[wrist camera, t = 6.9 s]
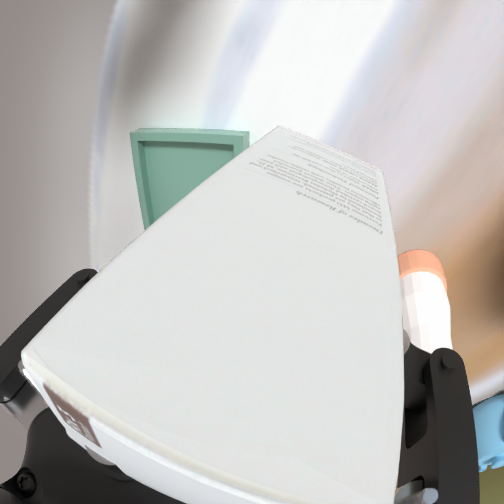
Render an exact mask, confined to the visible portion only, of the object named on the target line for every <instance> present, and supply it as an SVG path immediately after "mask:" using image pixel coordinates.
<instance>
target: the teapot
mask: <svg viewBox="0 0 504 504" xmlns="http://www.w3.org/2000/svg"><path fill="white" fill-rule="evenodd" d="M473 415H474V422H475V430H476V439H477V450H478V463H479V472H482V471H484V470H486V467H487V465H491V468H498V467H501V466H503V465H504V394H500V395H497V396H494V397H491V398H489V399H487V400H485V401H483V402H481V403H479V404H477V405H476V406H475V407H473Z"/></svg>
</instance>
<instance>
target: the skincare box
mask: <svg viewBox="0 0 504 504" xmlns="http://www.w3.org/2000/svg"><path fill="white" fill-rule="evenodd" d="M21 358H22V363H23V365H24V367H25V369H26V371H27V372H28V374H29V376H30V377H31V379H32V381H33V382H34V384H35V386H36V387H37V389H38V390H39V392H40V394H41V395H42V397H43V398H44V400H45V401H46V403H47V404H48V406H49V407H50V408H51V410H52V411H53V413H54V414H55V416H56V417H57V418H58V420H59V421H60V422H61V424H62V425H63V426H64V427H65V428H66V433H67V435H68V436H69V437H70V438H72V439H73V440H74V441H75V442H77V443H78V444H79V445H81V446H82V447H83V448H85V449H86V447H85V445H86V446H87V447H89V448H90V449H92V450H93V451H95V452H96V453H97V454H99V455H101V456H102V457H104V458H105V459H107V460H109V461H110V462H112V463H114V464H116V465H117V466H118V467H119V468H120V469H121V470H122V471H123V472H124V473H125V474H126V475H128V476H130V477H132V478H133V479H135V480H136V481H138V482H140V483H142V484H144V485H146V486H148V487H150V488H152V489H154V490H156V491H158V492H161V493H163V494H165V495H167V496H170V497H172V498H174V499H177V500H179V501H182V502H184V503H187V504H393V503H394V496H395V489H396V482H397V475H398V468H399V459H400V448H401V434H402V422H403V408H404V352H403V324H402V298H401V285H400V275H399V266H398V258H397V249H396V242H395V235H394V228H393V222H392V215H391V209H390V204H389V198H388V193H387V188H386V183H385V179H384V174H383V171H382V170H381V169H379V168H377V167H374V166H372V165H370V164H368V163H366V162H364V161H362V160H360V159H357V158H355V157H353V156H351V155H349V154H346V153H344V152H342V151H340V150H338V149H335V148H333V147H331V146H329V145H326V144H324V143H322V142H319V141H317V140H314V139H312V138H310V137H307V136H305V135H302V134H300V133H297V132H295V131H292V130H290V129H287V128H285V127H282V126H277V127H276V128H275V129H274V130H272V131H271V132H269V133H268V134H266V135H265V136H264V137H262V138H261V139H260V140H258V141H257V142H255V143H254V144H253V145H251V146H250V147H248V148H247V149H246V150H244V151H243V152H242V153H240V154H239V155H238V156H236V157H235V158H234V159H232V160H231V161H230V162H228V163H227V164H226V165H224V166H223V167H222V168H220V169H219V170H218V171H216V172H215V173H214V174H213V175H211V176H210V177H209V178H207V179H206V180H205V181H204V182H202V183H201V184H200V185H199V186H197V187H196V188H195V189H194V190H192V191H191V192H190V193H189V194H188V195H186V196H185V197H184V198H183V199H181V200H180V201H179V202H178V203H176V204H175V205H174V206H173V207H172V208H170V209H169V210H168V211H167V212H166V213H164V214H163V215H162V216H161V217H160V218H159V219H157V220H156V221H155V222H154V223H153V224H152V225H151V226H149V227H148V228H147V229H146V230H145V231H144V232H143V233H141V234H140V235H139V236H138V237H137V238H136V239H134V240H133V241H132V242H131V243H130V244H129V245H128V246H126V247H125V248H124V249H123V250H122V251H121V252H120V253H119V254H117V255H116V256H115V257H114V258H113V259H112V260H111V261H110V262H109V263H108V264H106V265H105V266H104V267H103V268H102V269H101V270H100V271H99V272H98V273H97V274H96V275H95V276H94V277H93V278H92V279H91V280H90V281H89V282H88V283H87V284H86V285H85V286H84V287H83V288H81V289H80V290H79V291H78V292H77V293H76V294H75V295H74V296H73V297H72V299H71V300H70V301H69V302H68V303H67V304H66V305H65V306H64V307H63V308H62V309H61V310H60V311H59V312H58V313H57V314H56V315H55V316H54V317H53V318H52V319H51V320H50V321H49V322H48V323H47V324H46V325H45V326H44V327H43V328H42V330H41V331H40V332H39V333H38V334H37V335H36V336H35V337H34V338H33V339H32V340H31V341H30V342H29V344H28V345H27V346H26V347H25V348H24V349H23V350H22V351H21Z"/></svg>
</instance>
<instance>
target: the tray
mask: <svg viewBox="0 0 504 504" xmlns="http://www.w3.org/2000/svg"><path fill="white" fill-rule="evenodd" d="M130 138H131V146H132V154H133V162H134V169H135V176H136V182H137V189H138V195H139V201H140V207H141V212H142V218H143V223H144V229H145V230H146V229H147V228H148V227H149V226H151V225H152V224H153V223H154V222H155V221H156V220H157V219H159V218H160V217H161V216H162V215H163V214H164V213H166V212H167V211H168V210H169V209H170V208H172V207H173V206H174V205H175V204H176V203H178V202H179V201H180V200H181V199H183V198H184V197H185V196H186V195H188V194H189V193H190V192H191V191H192V190H194V189H195V188H196V187H197V186H199V185H200V184H201V183H202V182H204V181H205V180H206V179H207V178H209V177H210V176H211V175H213V174H214V173H215V172H216V171H218V170H219V169H220V168H222V167H223V166H224V165H226V164H227V163H228V162H230V161H231V160H232V159H234V158H235V157H236V156H238V155H239V154H240V153H242V152H243V151H244V150H246V149H247V148H248V147H249V132H247V131H233V130H214V129H182V128H146V129H138V130H135V131H133V132H131V133H130Z"/></svg>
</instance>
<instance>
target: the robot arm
mask: <svg viewBox="0 0 504 504" xmlns="http://www.w3.org/2000/svg"><path fill="white" fill-rule="evenodd" d="M97 273H98V272H97V271H96V270H94V269H83V270H80V271H78V272H76V273H75V274H74V275H73V276H71V277H70V278H69V279H68V280H67V281H66V282H65V283H64V284H63V285H62V286H60V287H59V288H58V289H57V290H56V291H55V292H54V293H53V294H52V295H51V296H50V297H49V298H48V299H47V300H46V301H44V302H43V303H42V304H41V305H40V306H39V307H38V308H37V309H36V310H35V311H34V312H33V313H32V314H31V315H30V316H29V317H28V318H27V319H26V320H25V321H24V322H23V323H22V324H21V325H20V326H19V327H18V328H17V329H16V330H15V331H14V332H13V333H12V334H11V336H10V337H9V338H8V339H7V340H6V341H5V342H4V343H3V344H2V345H1V346H0V405H1V406H2V407H3V408H4V409H5V410H6V411H7V412H8V413H9V414H11V415H12V416H14V417H15V418H16V419H17V420H18V421H19V422H20V423H21V424H23V426H24V427H25V428H26V429H27V430H28V435H27V445H26V451H25V456H24V460H23V463H22V466H21V468H20V470H19V471H18V473H17V474H16V475H15V476H13V477H12V478H11V479H9V480H8V481H6V482H4V483H2V484H0V504H187V503H184V502H182V501H179V500H177V499H174V498H172V497H170V496H167V495H165V494H163V493H161V492H158V491H156V490H154V489H152V488H150V487H148V486H146V485H144V484H142V483H140V482H138V481H136V480H135V479H133V478H132V477H130V476H128V475H126V474H125V473H124V472H123V471H122V470H121V469H120V468H119V467H118V466H117V465H116V464H114V463H112V462H110V461H109V460H107V459H105V458H104V457H102V456H101V455H99V454H97V453H96V452H95V451H93V450H92V449H90V448H89V447H87V446H86V445H85V447H86V449H85V448H83V447H82V446H81V445H79V444H78V443H77V442H75V441H74V440H73V439H72V438H70V437H69V436H68V435H67V433H66V428H65V427H64V426H63V425H62V424H61V422H60V421H59V420H58V418H57V417H56V416H55V414H54V413H53V411H52V410H51V408H50V407H49V406H48V404H47V403H46V401H45V400H44V398H43V397H42V395H41V394H40V392H39V390H38V389H37V387H36V386H35V384H34V382H33V381H32V379H31V377H30V376H29V374H28V372H27V371H26V369H25V367H24V365H23V363H22V358H21V351H22V350H23V349H24V348H25V347H26V346H27V345H28V344H29V342H30V341H31V340H32V339H33V338H34V337H35V336H36V335H37V334H38V333H39V332H40V331H41V330H42V328H43V327H44V326H45V325H46V324H47V323H48V322H49V321H50V320H51V319H52V318H53V317H54V316H55V315H56V314H57V313H58V312H59V311H60V310H61V309H62V308H63V307H64V306H65V305H66V304H67V303H68V302H69V301H70V300H71V299H72V297H73V296H74V295H75V294H76V293H77V292H78V291H79V290H80V289H81V288H83V287H84V286H85V285H86V284H87V283H88V282H89V281H90V280H91V279H92V278H93V277H94V276H95V275H96V274H97ZM402 324H403V316H402ZM403 352H404V408H403V422H402V434H401V448H400V459H399V473H398V489H396V490H395V496H394V503H393V504H479V503H480V501H479V500H480V499H479V498H480V491H479V490H480V489H479V463H478V450H477V439H476V430H475V422H474V415H473V408H472V402H471V396H470V391H469V385H468V380H467V375H466V370H465V366H464V362H463V360H462V358H461V357H460V355H459V354H458V353H457V352H455V351H454V350H452V349H449V348H438V349H436V350H434V351H433V352H432V354H431V353H429V352H426V351H424V350H422V349H420V348H418V347H416V346H415V345H413V344H412V343H411V342H410V338H409V335H408V334H407V332H406V331H405V330H404V329H403Z"/></svg>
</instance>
